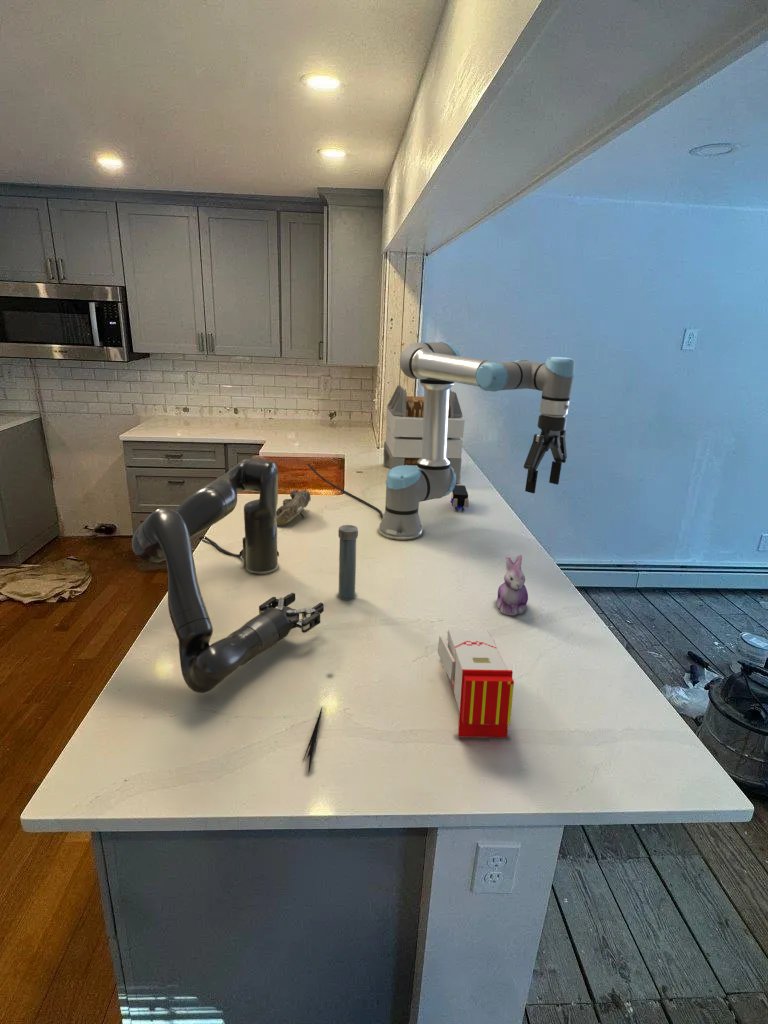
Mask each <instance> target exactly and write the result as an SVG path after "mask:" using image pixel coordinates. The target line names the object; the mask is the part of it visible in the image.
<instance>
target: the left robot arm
mask: <svg viewBox="0 0 768 1024" xmlns="http://www.w3.org/2000/svg"><path fill="white" fill-rule="evenodd" d="M242 492H255V493H259V497H258V498H259V499H253V500H250V501H248V502H246V503H245V504H244V506H243V519H244V520H243V521H244V522H243V523H244V537H242V549H241V550H240V551H239V553H238V554H236V553H232V552H230V551H228V550H226V549H224V548H223V547H221V546H220V545H219V544H218V543H216V542H215V541H214V540H212V539H211V538H209V537H207V536H205V535H202V536H200V537H199V538H198V540H199V541H201V540H206V541H207V542H209V543H210V544H212V545H213V546H214V547H215V548H216V549H217V550H218V551H220V552H222V553H224V554H226V555H229V556H231V557H235V558H241V559H242V560H243V568H244V569H245V570H246V571H247V572H248V573H250V574H254V575H267V574H271V573H273V572H276V571H277V570H278V568H279V562H278V560H279V559H278V558H279V557H280V553H279V550H278V525H277V509H278V503H279V468H278V466H277V464H276V462H274V461H273V460H266V459H258V458H245V459H242V460H240V461H239V462H238V463H237V464H236V465H234V466H233V467H232V468H230V470H228V471H227V472H226V473H224V474H223V475H221V476H219V477H218V478H216V479H215V480H213V481H211V482H209V483H207V484H205V485H203V486H202V487H199V488H198V489H197V490H196V491H194V492H193V493H191V494H190V495H189V496H188V497H186V498H185V499H184V500H183V501H182V502H181V503H180V504H179V505H178V506H177V507H176V508H175V509H172V508H168V507H160V508H157V509H154V511H152V512H151V513H150V514H149V515H148V516H147V517H146V518H145V519H144V520H143V521H142V523H141V524H140V525H139V526H138V527H136V528H137V529H136V530H135V531H134V533H133V535H132V539H131V549H132V551H133V553H134V555H135V556H136V557H137V559H140V560H142V561H143V562H144V561H145V562H148V563H160V562H163V561H165V563H166V568H167V606H168V613H169V617H170V620H171V623H172V626H173V629H174V632H175V635H176V638H177V640H178V653H179V661H180V662H179V663H180V670H181V675H182V677H183V680H184V683H185V684H186V685H187V686H188V688H189V689H190V690H191V691H193V692H195V693H197V694H204V693H207V692H210V691H212V690H213V689H214V688H216V687H217V686H218V685H219V684H221V682H222V681H224V680H225V679H226V678H227V677H228V676H230V675H231V674H232V673H234V672H235V671H236V670H237V669H238V668H240V667H243V666H244V665H246V664H248V663H249V662H251V661H252V660H254V659H255V658H257V656H259V655H261V654H263V653H265V652H266V651H268V650H269V649H271V648H272V647H273V646H275V645H276V644H278V643H279V642H280V641H282V640H283V639H284V638H286V637H287V636H288V635H289V633H290V632H291V631H292V630H293V629H297V628H299V629H300V630H301V633H302V634H305V633H307V632H308V631H311V630H312V629H313V628H315V627H317V626H318V625H320V624H321V614H323V613H324V611H325V604H324V602H319V603H317V604H316V605H314V606H313V607H312V608H310V609H305V608H299V609H296V608H292V607H291V606H290V605H291V604H293V603H295V601H296V593H294V592H290V593H289V594H287V595H285V596H283V597H279V598H277V597H276V596H271V597H270V598H269V599H267V600H266V601H264V602H263V603H261V604H260V605H258V614H257V615H255V616H254V617H252V618H251V619H249V620H248V621H246V622H245V623H244V624H243V625H242V626H241V627H239V628H238V629H236V630H235V631H232V633H230V634H229V635H227V636H226V637H223V638H222V639H219V640H217V641H215V642H213V643H212V644H210V641H211V639H212V637H213V633H214V628H213V624H212V621H211V618H210V615H209V613H208V610H207V607H206V605H205V602H204V598H203V595H202V592H201V589H200V584H199V581H198V576H197V575H198V574H197V570H196V565H195V559H194V553H193V548H192V541H191V538H192V537H194V536H196V535H198V534H200V533H201V532H204V531H205V530H207V529H208V528H210V527H212V526H213V525H216V524H217V523H218V522H220V521H222V520H223V519H224V518H226V517H227V516H229V515H230V514H231V513H232V512H233V511H234V510H235V508H236V506H237V504H238V494H239V493H242ZM204 537H205V539H204ZM300 614H301V619H300ZM307 615H309V616H307Z"/></svg>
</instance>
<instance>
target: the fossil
mask: <svg viewBox="0 0 768 1024" xmlns="http://www.w3.org/2000/svg"><path fill="white" fill-rule="evenodd" d="M289 497H290V498H285V499H284V500H282V505H281V506H279V507H277V526H283V525H286V524H288V523H289V522H291V521H292V520H294V518H296V517H297V516H299V515H300V516H301V518H305V517H304V515H303V514H302V511H303V510H304V509H305V508H307V506H308V504H309V502H311V494H310V492H309V491H307V490H306V489H301V490H300V491H299V490H298V489H296V490H295V489H293V490H291V492H290V495H289Z"/></svg>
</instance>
